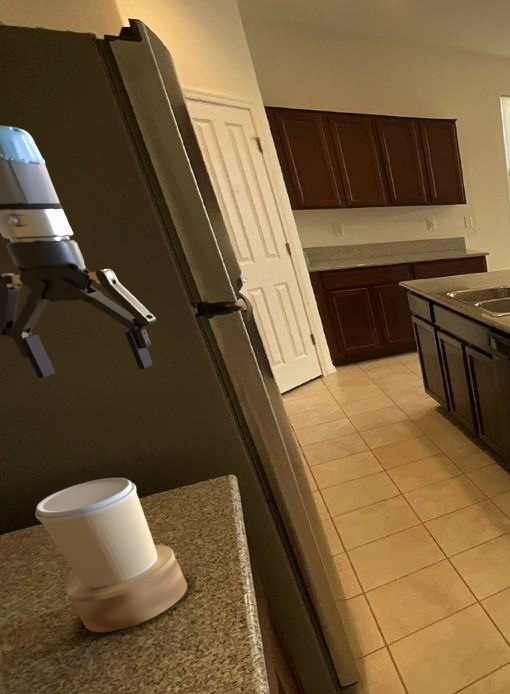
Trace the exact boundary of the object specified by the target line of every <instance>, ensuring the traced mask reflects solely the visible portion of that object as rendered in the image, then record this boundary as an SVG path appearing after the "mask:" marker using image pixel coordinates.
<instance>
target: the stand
mask: <svg viewBox="0 0 510 694" xmlns="http://www.w3.org/2000/svg"><path fill="white" fill-rule="evenodd" d="M154 545H155V549H156V552H157V560H156V562H155V563H154V564H153V565H152V566H151V567H150V568H149V569H147V570H146V571H144V572H143V573H141V574H139V575H137V576H135V577H133V578H131V579H128V580H126V581H123V582H120V583H117V584H114V585H110V586H105V587H88V586H86V585H84V584H83V582H82V581H81V580H80V578H79V577H78V576H77V574H76V573H75V574H74V575H73V576H72V577H71V578H70V579H69V580H68V581H67V583H66V585H65V588H64V590H65V593H66V595H67V597H68V599H69V600H70V602H71V604H72V605H73V607H74V609H75V611H76V612H77V614H78V616H79V618H80V620H81V623H82V624H83V626H84V627H85V628H86V630H88V631H90V632H94V633H109V632H116V631H120V630H124V629H129V628H131V627H134V626H137V625H140V624H141V623H144V622H146V621H148V620H150V619H152V618H155V617H157V616H158V615H160V614H162V613H164V612H165V611H167V610H168V609H170V608H171V607H173V606H174V605H175V604H176V603H177V602H179V601H180V599H181V598H182V597H183V596H184V595H185V593H186V591H187V589H188V582H187V581H186V578H185V575H184V574H183V572H182V569H181V567H180V565H179V562H178V560H177V557H176V555H175V553H174V551H173V549H172V548H171V547H169V546H167V545H164V544H163V545H162V544H154Z"/></svg>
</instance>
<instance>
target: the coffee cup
mask: <svg viewBox="0 0 510 694" xmlns="http://www.w3.org/2000/svg"><path fill="white" fill-rule="evenodd" d="M34 515H35V518H36V519H37V520H38V521H39V522H40V523H41V524H42V525H43V526H44V528H45V530H46V532H47V533H48V535H49V536H50V537H51V539H52V541H53V542H54V543H55V545H56V547H57V548H58V550H59V551H60V553H61V554H62V555H63V557H64V558H65V560H66V561H67V563H68V564H69V566H70V567H71V568H72V570H73V571H74V573H75V575H76V574H77V576H78V577H79V578H80V580H81V581H82V582H83V584H84V585H86V586H88V587H105V586H110V585H114V584H117V583H120V582H123V581H126V580H128V579H131V578H133V577H135V576H137V575H139V574H141V573H143V572H144V571H146V570H147V569H149V568H150V567H151V566H152V565H153V564H154V563H155V562H156V560H157V552H156V549H155V545H156V544H155V543H154V539H153V537H152V534H151V531H150V528H149V524H148V522H147V519H146V515H145V513H144V510H143V508H142V504H141V501H140V499H139V496H138V493H137V486H136V484H135V483H134V482H132V481H131V480H129V479H127V478H124V477H108V478H100V479H95V480H90V481H86V482H83V483H79V484H74V485H72V486H69V487H66V488H64V489H61V490H59V491H57V492H54V493H52V494H51V495H48V496H46V497H45V498H44V499H42V500H41V501H40V502H39V503H37V505H36V508H35V512H34Z"/></svg>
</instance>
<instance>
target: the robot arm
mask: <svg viewBox="0 0 510 694" xmlns="http://www.w3.org/2000/svg"><path fill="white" fill-rule="evenodd" d="M42 156H43V155H41V152H40V151H39V148H38V147H37V145H36V143H35V140H34V138H33V137H32V135H31V134H30V133H29V132H28V131H26V130H24V129H22V128H19V127H15V126H7V125H0V235H1V237H2V238H4V239H8V240H9V241H10V242H7V243H6V249H7V251H8V253H9V255H10V258H11V259H12V262H13V264H14V266H16V267H17V268H18V270H19V274H15V273H12V272H6V273H0V336H3V337H9V338H10V339H12V340H13V341H14V344H15V345H16V347H17V349H18V351H19V353H20V355H21V357H23V358H24V359H25V358H28V359H29V362H30V364H31V366H32V368H33V370H34V372H35V374H36V375H37V379H42V378H43V379H44V378H47V377H49V376H51V375H53V374H56V371H55V369H54V367H53V364H52V362H51V360H50V358H49V356H48V354H47V352H46V349H45V347H44V345H43V343H42V341H41V339H40V336H39V335H38V334H33V332H32V331H33V329H34V328H35V325H36V324H37V323H38V321H39V319H40V317H41V315H42V314H43V312H44V311H45V308H46V307H47V305H48V304H49V303H54V302H60V301H67V302H72V301H73V302H74V301H75V302H76V301H78V300H81V301H82V302H83V303H88V304H90V305H91V306H93V307H95V308H96V309H98V310H99V311H101V312H102V313H104V314H106V315H107V316H108V317H110V318H111V319H114V320H115V321H116V322H118V323H120V324H121V325H123V326H124V327H126V328H127V329H128V330H126V331H124V334H125V337H126V339H127V341H128V344H129V347H130V350H131V353H132V354H133V357H134V359H135V361H136V364H137V367H138V369H139V370H145V369H147V368H149V367H151V366H153V365H154V364H153V360H152V358H151V355H150V353H149V351H148V348H149V347H151V346H152V343H151V340H150V337H149V335H148V332H147V330H146V328H147V327H148V326H150V325H152V324H154V323H156V322H157V318H156V317H155V316H154V315H153V313H151V312H150V311H149V310H148V309H147V308H146V307H145V306H144V305H143V304H142V303H141V302H140V301H139V300H138V299H137V298H136V297H135V296H134V295H133V294H132V293H131V292H130V291H129V290H128V289H127V288H126V287H125V286H124V285H123V284H121V282H120V281H119V279H118V278H117V275H116V273H115V272H114V271H113V270H112V269H111V268H104V269H100V270H96V271H89V269H87V267H86V265H85V259H84V257H83V254H82V252H81V250H80V247H79V245H78V242H77V241H75V240H74V239H70V237H72V236H73V235H74V232H73V229H72V227H71V226H70V223H69V221H68V218H67V216H66V214H65V210H64V209H63V206H62V204H61V202H60V200H59V197H58V195H57V192H56V190H55V187H54V185H53V182H52V180H51V176H50V174H49V171H48V169H47V166H46V161H45V159H44V158H43V157H42ZM94 281H95V283H96V284H98V285H101V286H102V288H103V289H104V290H105V291H106V292H107V293H108V294H109V295H110V296H111V297H112V298H113V299H114V300H115V301H116V302H117V303H119V305H118V304H117V303H115V302H114V301H112V300H111V299H109V298H108V297H106V296H105V295H104V293H103V292H102V291H100V290H98V289H97V288H96V287H94V286H93V285H92V283H93V282H94ZM22 286H25V287H27V288H28V289H30V290H31V291H30V292H29V293H28V296H27V297H26V299H25V302H26V303H25V304H24V306H23V307H22V309H21V311H20V313H19V314H18V316H17V312H18V306H19V299H20V292H21V288H22ZM120 305H121V306H120Z"/></svg>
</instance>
